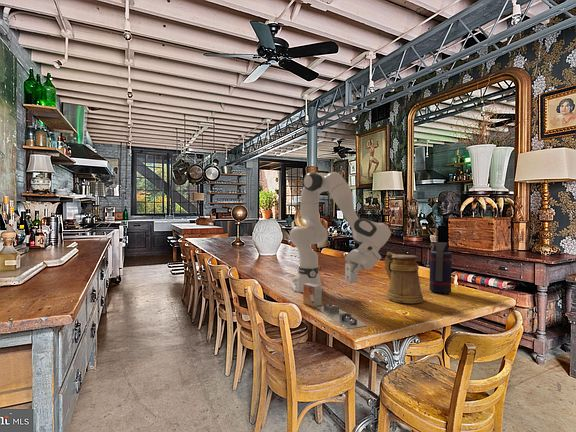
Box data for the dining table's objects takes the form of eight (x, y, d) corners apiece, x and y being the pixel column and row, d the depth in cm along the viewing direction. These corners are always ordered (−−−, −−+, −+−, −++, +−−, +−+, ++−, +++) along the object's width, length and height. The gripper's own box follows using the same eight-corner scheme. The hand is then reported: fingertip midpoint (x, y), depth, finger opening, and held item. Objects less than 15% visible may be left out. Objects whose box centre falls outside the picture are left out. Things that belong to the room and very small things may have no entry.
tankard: (410, 306, 169) (411, 258, 168) (373, 296, 188) (374, 252, 187) (429, 301, 179) (430, 255, 179) (393, 291, 198) (393, 250, 198)
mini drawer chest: (344, 281, 164) (344, 263, 164) (352, 280, 166) (352, 262, 165) (350, 283, 159) (350, 264, 159) (357, 282, 161) (358, 264, 161)
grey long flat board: (315, 307, 166) (315, 301, 166) (333, 305, 170) (333, 299, 169) (346, 328, 138) (346, 320, 138) (367, 325, 142) (367, 317, 141)
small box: (303, 303, 173) (303, 283, 173) (310, 301, 177) (310, 282, 176) (314, 307, 167) (314, 286, 167) (321, 305, 171) (321, 284, 171)
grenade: (430, 288, 206) (431, 240, 205) (452, 291, 200) (453, 241, 199) (427, 293, 194) (428, 242, 193) (449, 296, 188) (451, 244, 187)
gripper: (352, 244, 174) (335, 263, 171) (375, 248, 155) (357, 271, 152) (359, 252, 176) (343, 271, 173) (383, 257, 157) (365, 279, 154)
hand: (350, 271), depth 162 cm, fingers closed on mini drawer chest, 5 cm apart
